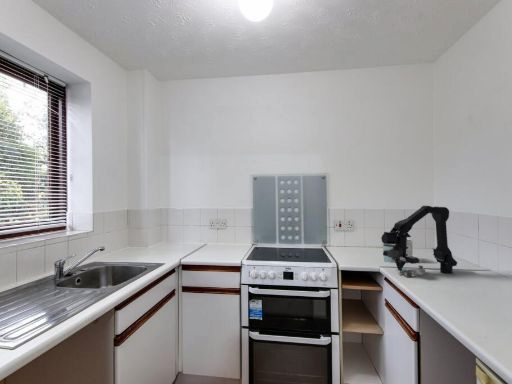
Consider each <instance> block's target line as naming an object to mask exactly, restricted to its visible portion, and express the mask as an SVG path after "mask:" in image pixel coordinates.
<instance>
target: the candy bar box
mask: <svg viewBox="0 0 512 384" xmlns="http://www.w3.org/2000/svg"><path fill="white" fill-rule="evenodd" d="M407 247H408V249H406V254H408V256H407V257H409V256H413V239H410V238H409V237H407ZM405 264H409V263H408V262H406V263H405Z"/></svg>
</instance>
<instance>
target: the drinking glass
mask: <svg viewBox="0 0 512 384" xmlns="http://www.w3.org/2000/svg"><path fill="white" fill-rule="evenodd" d="M394 245H395V244H384V243H382V253H383V252H384V250H391V249H393V246H394ZM383 263H395V261H394V260H393V259H392V258H391V257H388V256H385V255H383ZM395 264H396V263H395Z"/></svg>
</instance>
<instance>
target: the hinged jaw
mask: <svg viewBox="0 0 512 384" xmlns="http://www.w3.org/2000/svg"><path fill="white" fill-rule="evenodd" d="M414 270H419V267H417V268H408V269H404V268H402V269H401V270H398V269H397V275H398V276H404V272H407V271H414Z"/></svg>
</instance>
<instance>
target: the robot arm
mask: <svg viewBox="0 0 512 384" xmlns="http://www.w3.org/2000/svg"><path fill="white" fill-rule="evenodd" d="M428 214H431V217H432V219H433V220H434V222H435V232H436V233H435V234H436V245H437V246H436V247H435V248H433V249H432V251H433V256H434V258H435V260H436V262H437V263H440V264H439V266H440V267H439V268H440V271H439V272H440V274H446V275H447V274H449V275H450V274H451V275H452V274H453V273H454V271H453V270H454V269H453V267H457V266H458V265H457V264H458V261H456V259H455V258H454V257H453V253H452V251H451V250H450V247H449V245H448V244H449V243H448V233H447V232H448V231H447V229H448V228H447V221H448V220H449V218H450V209H449V208H447V207H446V206H432V205H422V206H421V207H420V208H418V209H417V210H416V211H414V212H413V213H412V214H411V215H409V216H408V217H406V218H404V219H401V220H398V221H397V222H395V223H394V225H393V227H392V228H391V230H390V231H384V232H383V234H382V235H381V238H380V239H381V242H382V244H395V245H394V246H393V249H391V250H384V252H383V251H382V255H383V256H384V255H385V256H388V257H391V258H392V259H393V260H394V261H395V265H396V268H397V271H398V270H402V269H404V266H405V265H406V264H413V265H414V264H415V265H416V264H420V259H419V257H416V256H413V255H412V256H409V257H407V256H408V254H406V249H408V247H407V238H411V237H412V235H410V234H409V233H410V231H411V230H412V229H413V226H414V225H415V224H416V223H417V222H419V221H420V220H422V219H424V217H425V216H427V215H428ZM406 262H408V263H406Z"/></svg>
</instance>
